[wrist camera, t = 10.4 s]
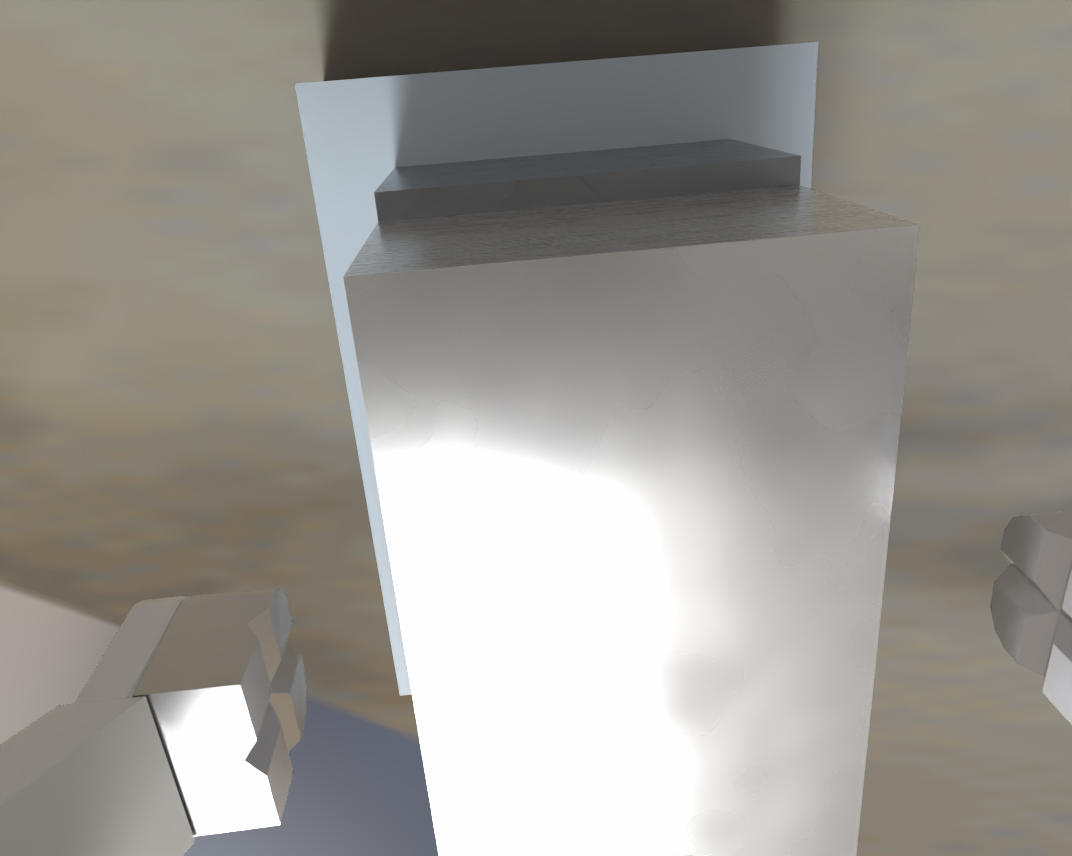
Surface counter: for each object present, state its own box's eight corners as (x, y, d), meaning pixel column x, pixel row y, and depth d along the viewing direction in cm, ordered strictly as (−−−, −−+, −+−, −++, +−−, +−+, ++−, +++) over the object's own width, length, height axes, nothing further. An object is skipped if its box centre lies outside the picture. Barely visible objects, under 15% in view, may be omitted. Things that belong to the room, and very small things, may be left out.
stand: (323, 82, 17) (294, 83, 14) (763, 47, 17) (818, 41, 15) (409, 617, 22) (399, 695, 19) (747, 582, 22) (786, 654, 20)
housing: (395, 167, 15) (336, 236, 8) (731, 138, 15) (923, 184, 9) (457, 634, 19) (450, 926, 12) (723, 606, 19) (854, 878, 13)
